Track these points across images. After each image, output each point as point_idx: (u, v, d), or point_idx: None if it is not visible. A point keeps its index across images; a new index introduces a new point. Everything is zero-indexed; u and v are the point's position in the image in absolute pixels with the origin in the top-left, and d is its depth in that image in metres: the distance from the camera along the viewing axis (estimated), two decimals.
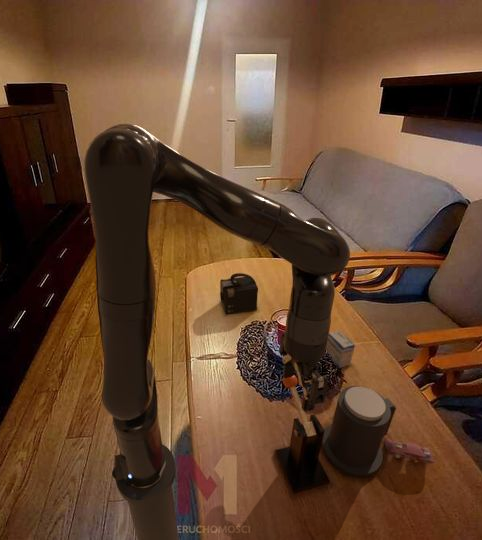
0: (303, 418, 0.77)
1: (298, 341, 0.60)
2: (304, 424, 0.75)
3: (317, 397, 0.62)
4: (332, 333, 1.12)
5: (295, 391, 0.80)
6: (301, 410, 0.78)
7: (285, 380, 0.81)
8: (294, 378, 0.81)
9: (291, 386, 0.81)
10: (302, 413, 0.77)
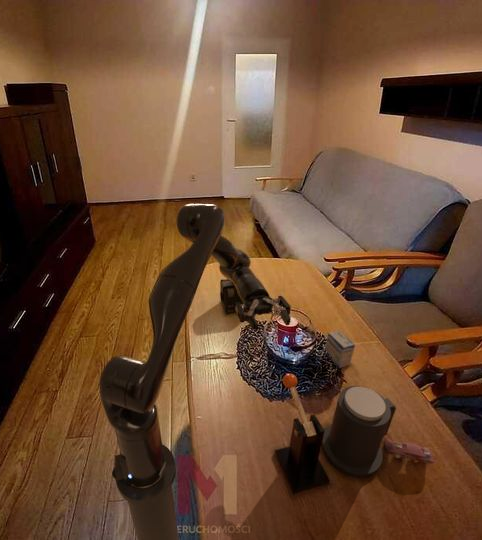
0: (303, 418, 0.77)
1: (259, 282, 1.01)
2: (304, 424, 0.75)
3: None
4: (332, 333, 1.12)
5: (295, 391, 0.80)
6: (301, 410, 0.78)
7: (285, 380, 0.81)
8: (294, 378, 0.81)
9: (291, 386, 0.81)
10: (302, 413, 0.77)
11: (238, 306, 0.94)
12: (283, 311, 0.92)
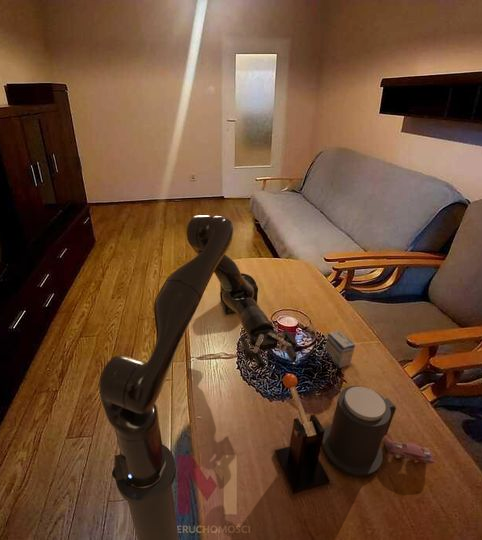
0: (303, 418, 0.77)
1: (264, 315, 1.00)
2: (304, 424, 0.75)
3: None
4: (332, 333, 1.12)
5: (295, 391, 0.80)
6: (301, 410, 0.78)
7: (285, 380, 0.81)
8: (294, 378, 0.81)
9: (291, 386, 0.81)
10: (302, 413, 0.77)
11: (243, 342, 0.93)
12: (289, 347, 0.91)
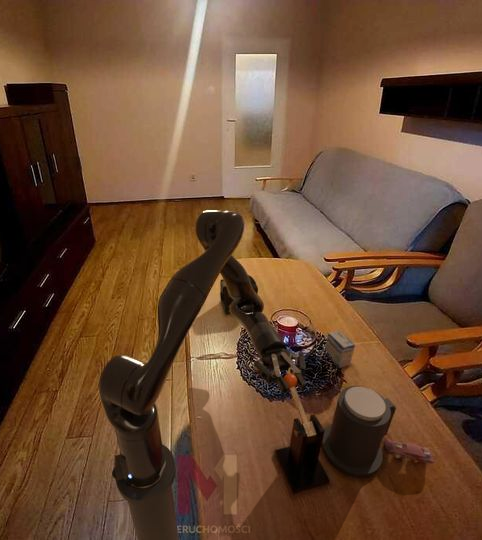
0: (303, 418, 0.77)
1: (276, 332, 0.93)
2: (304, 424, 0.75)
3: None
4: (332, 333, 1.12)
5: (295, 391, 0.80)
6: (301, 410, 0.78)
7: (285, 380, 0.81)
8: (294, 378, 0.81)
9: (291, 386, 0.81)
10: (302, 413, 0.77)
11: (259, 366, 0.85)
12: (297, 374, 0.82)
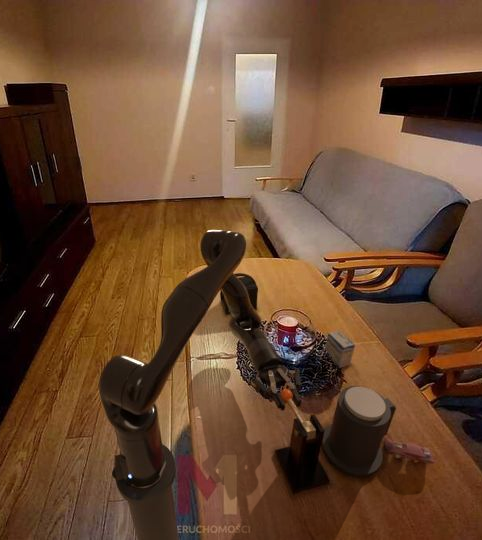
0: (301, 420, 0.78)
1: (273, 348, 0.97)
2: (302, 423, 0.76)
3: None
4: (332, 333, 1.12)
5: (291, 401, 0.83)
6: (299, 414, 0.80)
7: (280, 394, 0.86)
8: (288, 390, 0.85)
9: (287, 397, 0.84)
10: (300, 417, 0.79)
11: (257, 382, 0.89)
12: (293, 390, 0.86)
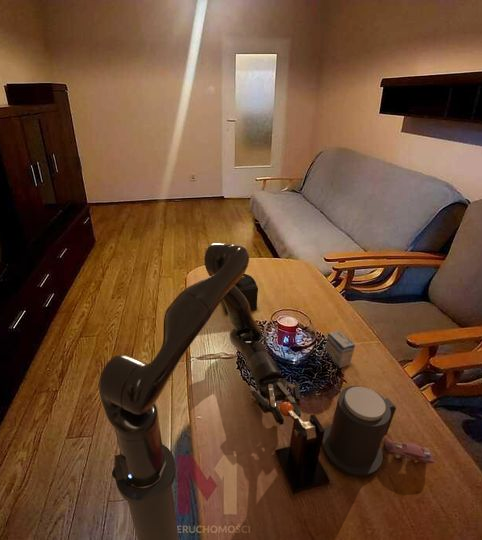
0: (301, 423, 0.78)
1: (273, 362, 0.99)
2: (301, 423, 0.77)
3: None
4: (332, 333, 1.12)
5: (291, 411, 0.84)
6: None
7: (280, 406, 0.87)
8: (288, 402, 0.87)
9: (287, 408, 0.85)
10: (300, 420, 0.79)
11: (256, 396, 0.91)
12: (293, 404, 0.88)
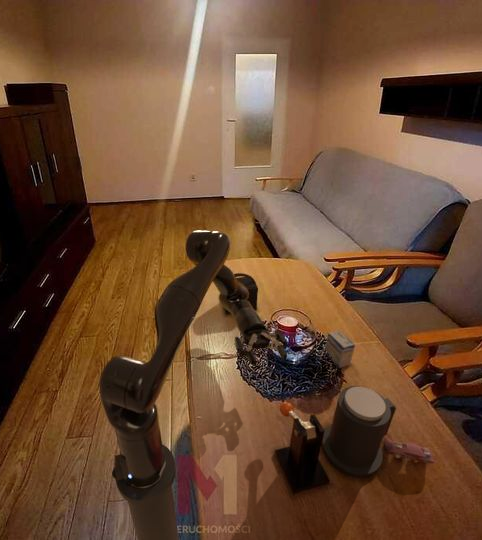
0: (301, 423, 0.78)
1: (258, 316, 1.06)
2: (301, 423, 0.77)
3: None
4: (332, 333, 1.12)
5: (291, 411, 0.84)
6: None
7: (280, 406, 0.87)
8: (288, 402, 0.87)
9: (287, 408, 0.85)
10: (300, 420, 0.79)
11: (237, 341, 0.99)
12: (280, 346, 0.97)
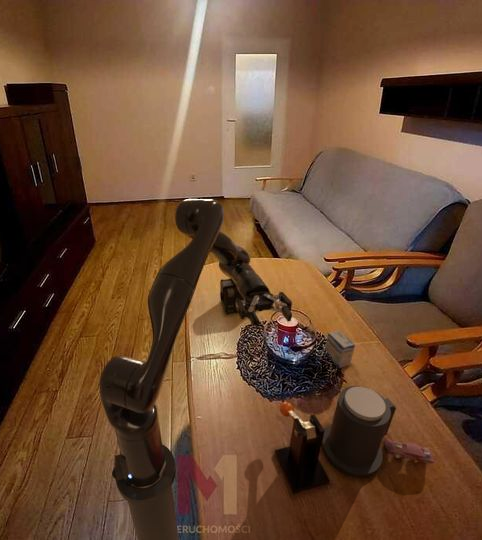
0: (301, 423, 0.78)
1: (260, 278, 1.00)
2: (301, 423, 0.77)
3: None
4: (332, 333, 1.12)
5: (291, 411, 0.84)
6: None
7: (280, 406, 0.87)
8: (288, 402, 0.87)
9: (287, 408, 0.85)
10: (300, 420, 0.79)
11: (238, 302, 0.92)
12: (284, 307, 0.90)
